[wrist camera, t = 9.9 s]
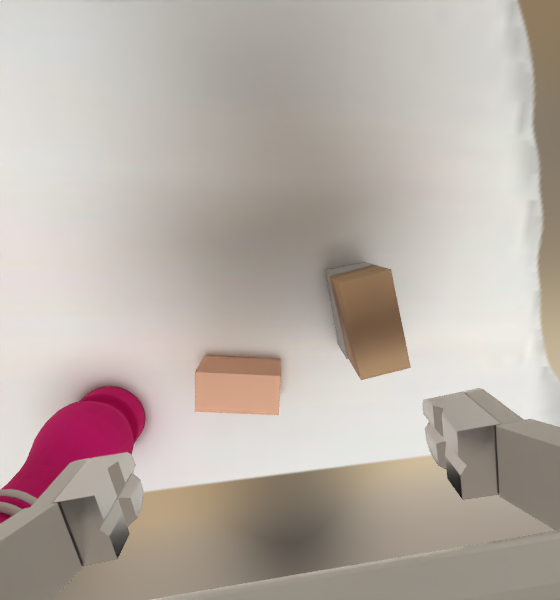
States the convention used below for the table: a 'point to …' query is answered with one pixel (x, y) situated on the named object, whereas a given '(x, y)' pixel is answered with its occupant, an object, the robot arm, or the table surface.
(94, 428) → the pepper mill
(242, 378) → the terracotta brick
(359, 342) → the walnut brick
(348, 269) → the slate-grey brick
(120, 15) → the table surface
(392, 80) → the table surface
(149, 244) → the table surface
